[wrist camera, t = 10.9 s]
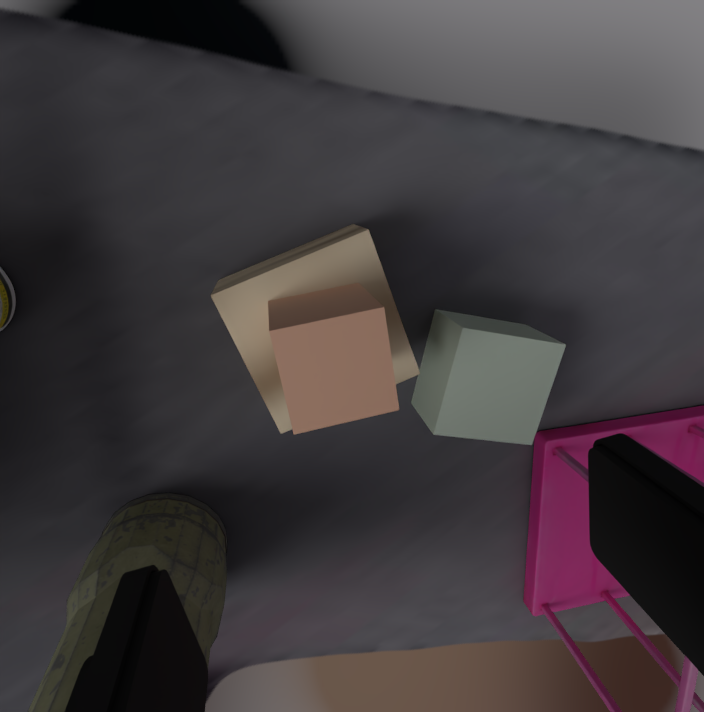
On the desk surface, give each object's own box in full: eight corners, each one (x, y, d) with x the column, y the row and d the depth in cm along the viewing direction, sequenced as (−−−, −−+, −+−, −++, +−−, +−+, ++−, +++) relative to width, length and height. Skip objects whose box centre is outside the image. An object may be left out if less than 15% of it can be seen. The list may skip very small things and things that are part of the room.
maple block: (218, 279, 30) (210, 295, 25) (352, 223, 30) (368, 229, 25) (278, 399, 33) (281, 433, 28) (398, 348, 33) (420, 373, 29)
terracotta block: (267, 301, 26) (269, 331, 20) (358, 282, 26) (384, 307, 21) (287, 385, 27) (293, 434, 22) (372, 366, 28) (399, 410, 22)
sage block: (434, 308, 33) (462, 327, 28) (524, 324, 34) (566, 344, 30) (410, 402, 35) (433, 434, 30) (497, 412, 36) (531, 444, 32)
